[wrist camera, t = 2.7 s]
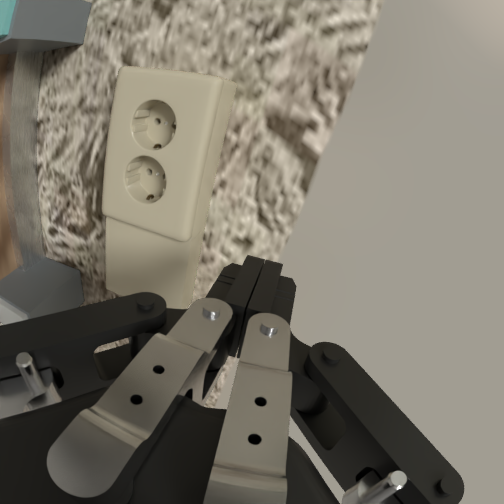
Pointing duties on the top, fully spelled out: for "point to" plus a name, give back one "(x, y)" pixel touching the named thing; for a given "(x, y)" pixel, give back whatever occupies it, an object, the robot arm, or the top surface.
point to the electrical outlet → (161, 178)
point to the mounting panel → (3, 257)
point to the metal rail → (22, 156)
